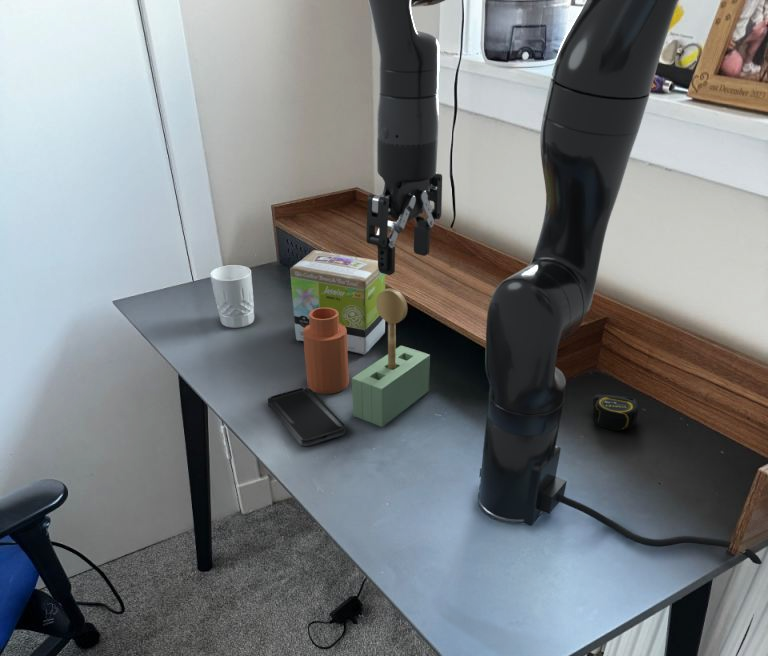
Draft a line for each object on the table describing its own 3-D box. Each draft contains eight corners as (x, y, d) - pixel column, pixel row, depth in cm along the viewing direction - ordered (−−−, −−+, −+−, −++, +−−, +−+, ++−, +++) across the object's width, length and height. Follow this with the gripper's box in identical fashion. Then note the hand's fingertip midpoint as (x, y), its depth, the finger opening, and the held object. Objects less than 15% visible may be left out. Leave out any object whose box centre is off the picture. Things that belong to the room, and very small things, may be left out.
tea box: (294, 342, 139) (287, 266, 129) (318, 321, 146) (313, 247, 136) (366, 356, 134) (364, 278, 125) (386, 333, 141) (386, 258, 132)
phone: (307, 386, 123) (347, 427, 113) (308, 391, 124) (347, 433, 114) (264, 398, 120) (301, 441, 110) (265, 404, 121) (302, 448, 111)
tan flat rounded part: (406, 406, 120) (408, 292, 108) (402, 409, 120) (403, 295, 107) (381, 397, 123) (380, 284, 110) (377, 400, 122) (375, 287, 109)
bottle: (356, 380, 127) (354, 311, 119) (331, 398, 123) (326, 327, 114) (325, 369, 130) (320, 300, 122) (299, 386, 126) (292, 315, 118)
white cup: (254, 329, 143) (247, 280, 137) (214, 329, 143) (206, 280, 137) (259, 312, 149) (253, 264, 143) (221, 312, 149) (214, 264, 143)
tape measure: (633, 414, 118) (638, 394, 116) (634, 437, 113) (640, 416, 110) (591, 409, 119) (595, 389, 117) (590, 431, 114) (594, 411, 112)
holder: (428, 391, 124) (430, 354, 120) (382, 427, 116) (381, 388, 111) (400, 381, 127) (401, 345, 122) (353, 415, 118) (351, 378, 114)
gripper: (399, 151, 83) (397, 287, 94) (463, 127, 92) (454, 253, 102) (348, 141, 86) (351, 273, 97) (414, 119, 95) (410, 242, 106)
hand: (404, 263), depth 100 cm, fingers open, 8 cm apart
